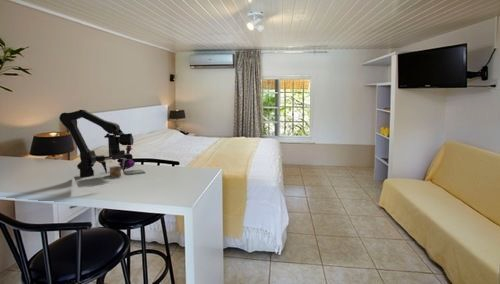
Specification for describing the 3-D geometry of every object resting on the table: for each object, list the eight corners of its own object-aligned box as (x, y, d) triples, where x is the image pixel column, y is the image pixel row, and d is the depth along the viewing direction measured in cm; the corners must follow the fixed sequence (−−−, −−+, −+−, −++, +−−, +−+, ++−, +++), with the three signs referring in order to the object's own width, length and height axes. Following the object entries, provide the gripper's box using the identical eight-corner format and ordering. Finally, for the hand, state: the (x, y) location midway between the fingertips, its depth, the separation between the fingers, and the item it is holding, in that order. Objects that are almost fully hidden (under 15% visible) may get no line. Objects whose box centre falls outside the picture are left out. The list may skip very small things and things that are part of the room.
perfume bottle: (135, 167, 197) (134, 140, 196) (129, 169, 190) (128, 141, 188) (124, 167, 198) (123, 140, 196) (118, 169, 191) (117, 141, 189)
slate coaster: (127, 175, 171) (127, 173, 171) (123, 172, 180) (123, 171, 180) (145, 173, 177) (145, 171, 177) (140, 170, 185) (140, 169, 185)
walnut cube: (111, 176, 167) (111, 168, 167) (109, 175, 171) (109, 166, 171) (120, 175, 170) (120, 167, 169) (119, 174, 174) (118, 166, 174)
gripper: (97, 147, 157) (99, 176, 159) (134, 145, 168) (135, 172, 169) (95, 145, 166) (96, 173, 168) (129, 144, 177) (130, 169, 178)
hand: (115, 172), depth 170 cm, fingers open, 9 cm apart
